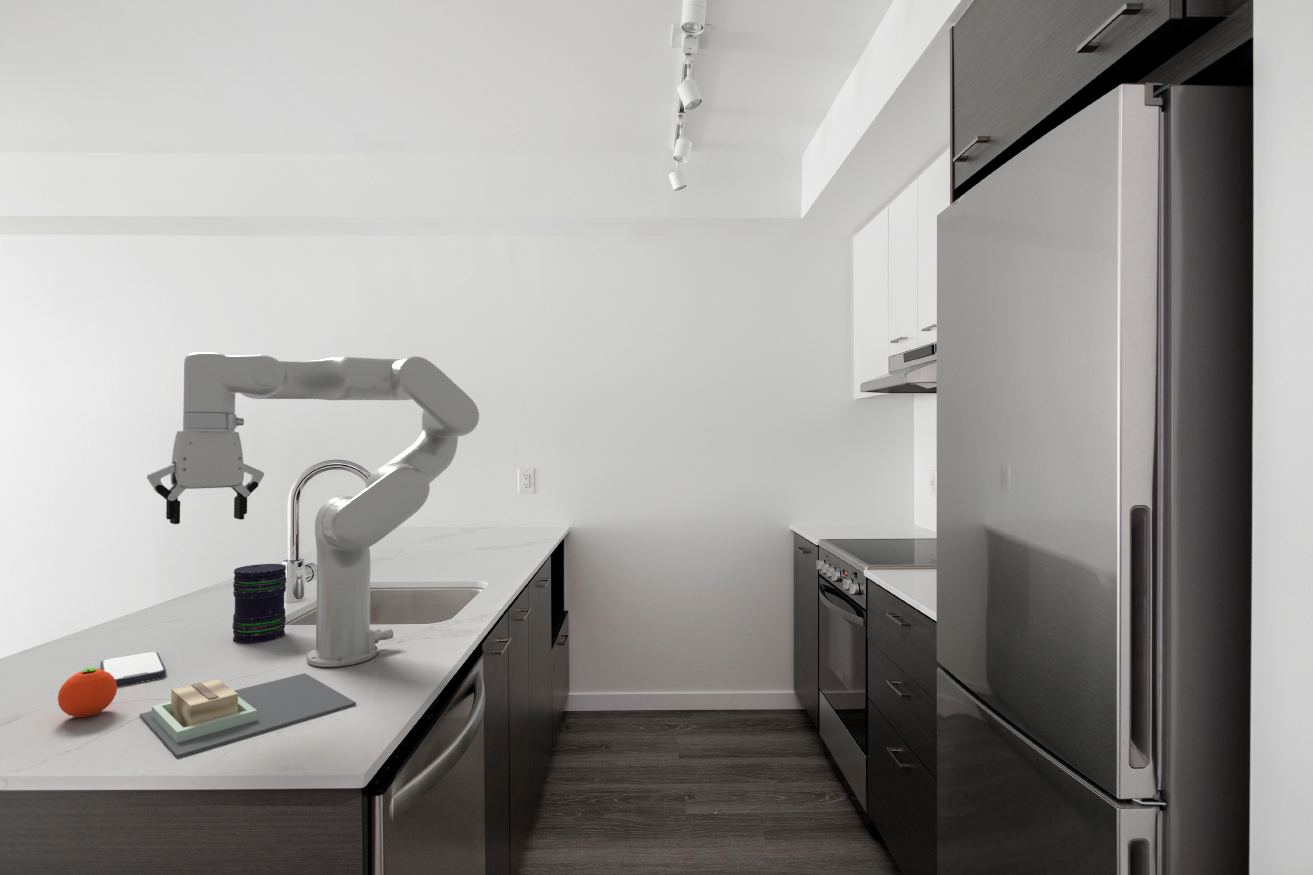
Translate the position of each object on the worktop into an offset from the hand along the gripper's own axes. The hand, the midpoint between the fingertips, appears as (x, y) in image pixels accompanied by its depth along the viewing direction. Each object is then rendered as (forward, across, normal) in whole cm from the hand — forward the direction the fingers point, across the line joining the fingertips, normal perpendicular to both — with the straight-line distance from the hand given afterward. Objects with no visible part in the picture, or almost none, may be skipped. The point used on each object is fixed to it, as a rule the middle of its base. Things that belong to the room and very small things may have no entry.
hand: (207, 521), depth 115 cm
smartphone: (+29, +7, -17) cm, 34 cm away
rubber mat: (+28, -1, +19) cm, 34 cm away
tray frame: (+28, +5, +18) cm, 34 cm away
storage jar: (+28, -16, -22) cm, 40 cm away
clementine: (+29, +16, +2) cm, 33 cm away
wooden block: (+28, +5, +18) cm, 34 cm away
